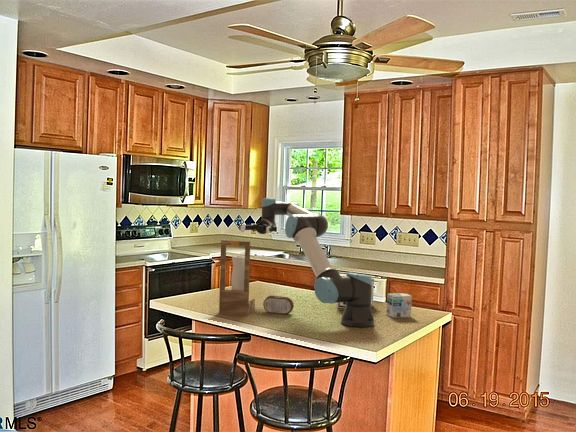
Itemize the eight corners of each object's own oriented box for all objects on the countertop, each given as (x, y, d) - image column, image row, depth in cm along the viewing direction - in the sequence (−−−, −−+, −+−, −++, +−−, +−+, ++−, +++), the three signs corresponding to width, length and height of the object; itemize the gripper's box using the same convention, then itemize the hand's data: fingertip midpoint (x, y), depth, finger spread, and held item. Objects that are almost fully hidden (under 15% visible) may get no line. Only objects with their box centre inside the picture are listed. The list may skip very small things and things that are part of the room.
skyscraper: (248, 309, 269) (250, 252, 268) (232, 310, 266) (234, 252, 265) (243, 306, 277) (245, 250, 276) (228, 306, 274) (229, 250, 273)
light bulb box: (391, 317, 269) (392, 296, 268) (385, 314, 275) (386, 293, 275) (411, 317, 272) (412, 295, 271) (405, 314, 278) (406, 293, 278)
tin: (293, 314, 270) (294, 297, 269) (291, 315, 267) (292, 298, 266) (264, 311, 274) (264, 294, 273) (262, 312, 271) (262, 295, 270)
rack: (246, 316, 262) (249, 241, 260) (218, 313, 265) (220, 239, 263) (254, 309, 276) (256, 238, 275) (227, 307, 279) (229, 237, 277)
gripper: (285, 234, 299) (277, 237, 278) (241, 232, 304) (230, 235, 283) (286, 221, 299) (278, 223, 278) (242, 219, 303) (230, 220, 283)
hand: (254, 229), depth 280 cm, fingers open, 13 cm apart
